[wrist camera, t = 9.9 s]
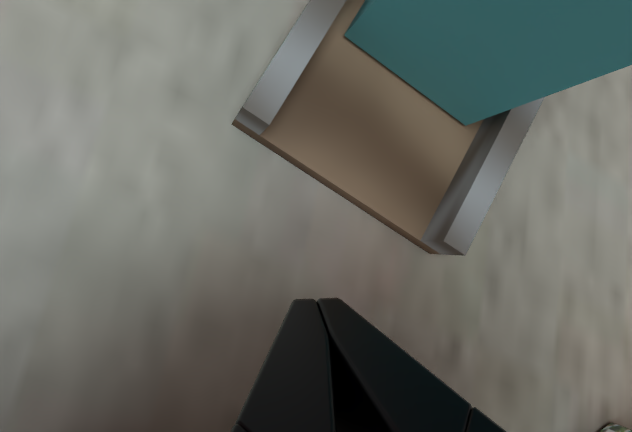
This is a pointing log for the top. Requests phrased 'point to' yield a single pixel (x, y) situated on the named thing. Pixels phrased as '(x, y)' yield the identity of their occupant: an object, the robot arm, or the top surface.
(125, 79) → the top surface
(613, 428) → the syrup box
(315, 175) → the mount
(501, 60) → the teal tall block
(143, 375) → the top surface
